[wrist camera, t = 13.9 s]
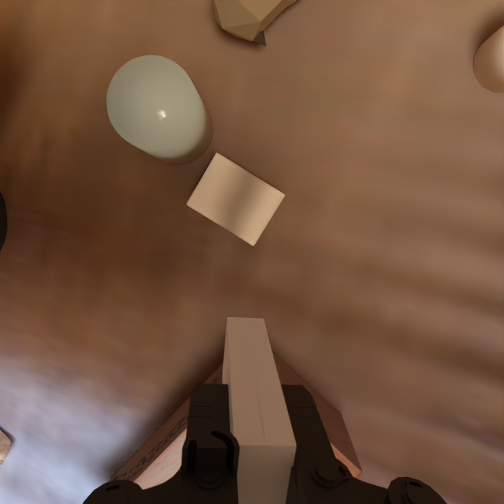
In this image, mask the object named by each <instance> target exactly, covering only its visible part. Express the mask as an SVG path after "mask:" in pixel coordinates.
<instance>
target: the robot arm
mask: <svg viewBox="0 0 504 504" xmlns="http://www.w3.org/2000/svg"><path fill="white" fill-rule="evenodd" d="M5 234H6V211H5V207H4V203H3V200H2V197H1V195H0V250H1V247H2V245H3V242H4V238H5ZM222 383H223V384H207V383H198V384H197V386H196V387H195V388H194V390H193V391H192V392H191V395H190V404H189V414H188V423H187V432H186V439H185V441H184V444H183V447H182V459H181V466H180V468H179V470H178V471H177V472H176V473H175V474H174V476H173V477H171V478H170V479H168V480H167V481H165V482H163V483H161V484H159V485H156V486H153V487H150V488H147V489H142V488H141V487H140V486H139V484H137V483H135V482H132V481H130V480H114V481H111V482H107V483H105V484H103V485H101V486H100V487H98V488H97V489H95V490H94V491H93V492H92V493H91V494H90V495H89V496H88V497H87V499H86V500H85V501H84V502H83V504H447V503H446V502H445V501H444V500H443V499H442V497H441V496H440V495H439V494H438V493H437V492H435V491H434V490H433V489H432V488H431V487H430V486H428V485H427V484H425V483H423V482H421V481H420V480H417V479H413V478H410V477H398V478H396V479H394V480H393V481H391V483H390V485H389V487H388V489H386V488H383V487H379V486H376V485H373V484H369V483H366V482H363V481H361V480H358V479H357V478H355V477H353V476H352V474H351V472H350V471H349V469H348V467H347V466H346V465H345V464H343V463H342V462H341V461H340V460H339V459H337V458H336V457H335V454H334V452H333V449H332V446H331V444H330V441H329V438H328V436H327V433H326V430H325V428H324V425H323V422H322V420H321V419H320V414H319V412H318V409H317V406H316V404H315V401H314V399H313V396H312V394H311V393H310V392H309V391H308V390H307V389H306V388H305V387H304V386H303V385H286V384H280V380H279V377H278V373H277V369H276V365H275V361H274V357H273V354H272V350H271V346H270V342H269V338H268V334H267V331H266V327H265V323H264V319H261V318H240V317H227V326H226V338H225V349H224V361H223V372H222Z"/></svg>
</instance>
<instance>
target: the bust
mask: <svg viewBox="0 0 504 504" xmlns="http://www.w3.org/2000/svg"><path fill="white" fill-rule="evenodd" d="M10 447H11V441H10V440H9V438H8V437H7V436H6V435H5V434H4V433H3V432H2V431H1V430H0V466H1V465H2V463H3V461H4V459H5V457H6V455H7V454H8V452H9V449H10Z"/></svg>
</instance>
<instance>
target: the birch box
mask: <svg viewBox="0 0 504 504" xmlns="http://www.w3.org/2000/svg"><path fill="white" fill-rule="evenodd" d="M284 196H285V194H283V193H281V192H280V191H278V190H276V189H275V188H273V187H272V186H270V185H268V184H267V183H265V182H264V181H262V180H260V179H259V178H257V177H255V176H254V175H252V174H251V173H249V172H247V171H246V170H244V169H243V168H241V167H239V166H238V165H236V164H234V163H233V162H231V161H230V160H228V159H226V158H225V157H223V156H222V155H220V154H218V153H216V155H215V156H214V158H213V160H212V161H211V163H210V165H209V166H208V168H207V170H206V172H205V173H204V175H203V177H202V178H201V180H200V182H199V184H198V185H197V187H196V189H195V190H194V192H193V194H192V195H191V197H190V199H189V201H188V202H187V204H186V205H188V206H190V207H191V208H193V209H194V210H196V211H198V212H199V213H201V214H203V215H204V216H206V217H207V218H209V219H211V220H212V221H214V222H215V223H217V224H219V225H220V226H222V227H224V228H225V229H227V230H228V231H230V232H232V233H233V234H235V235H237V236H238V237H240V238H241V239H243V240H245V241H246V242H248V243H250V244H251V245H253V246H254V245H255V243H256V241H257V240H258V238H259V237H260V235H261V233H262V232H263V230H264V228H265V227H266V225H267V224H268V222H269V220H270V219H271V217H272V215H273V214H274V212H275V211H276V209H277V207H278V206H279V204H280V202H281V201H282V199H283V198H284Z"/></svg>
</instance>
